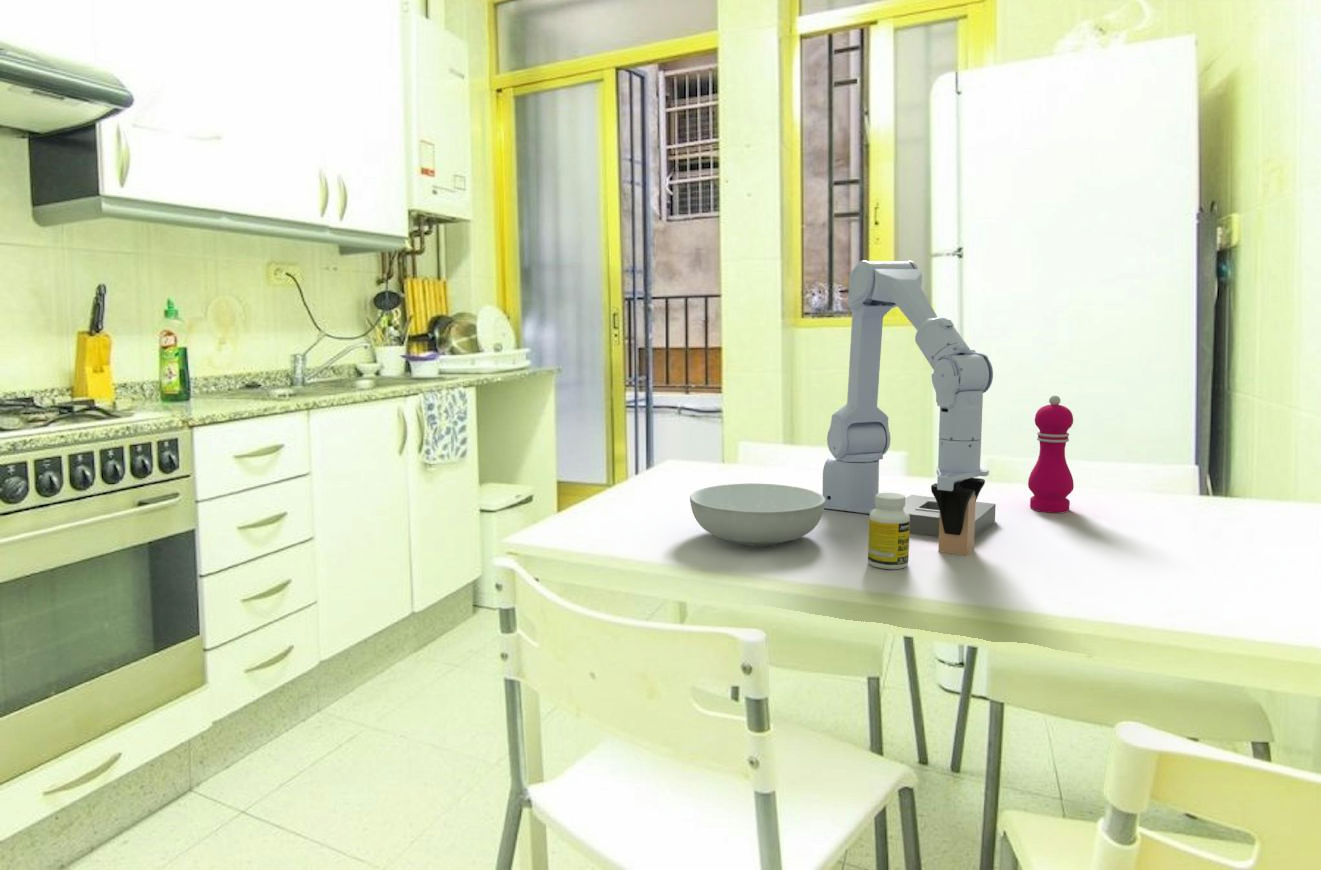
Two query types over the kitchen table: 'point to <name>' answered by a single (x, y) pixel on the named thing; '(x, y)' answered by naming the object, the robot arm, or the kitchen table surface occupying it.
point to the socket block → (927, 514)
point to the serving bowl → (757, 512)
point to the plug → (963, 541)
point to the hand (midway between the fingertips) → (956, 530)
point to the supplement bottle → (889, 532)
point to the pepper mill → (1052, 460)
